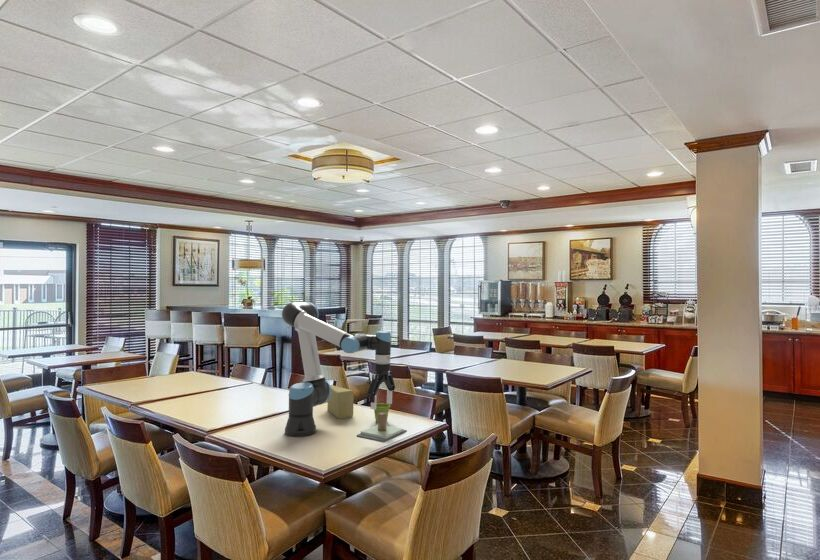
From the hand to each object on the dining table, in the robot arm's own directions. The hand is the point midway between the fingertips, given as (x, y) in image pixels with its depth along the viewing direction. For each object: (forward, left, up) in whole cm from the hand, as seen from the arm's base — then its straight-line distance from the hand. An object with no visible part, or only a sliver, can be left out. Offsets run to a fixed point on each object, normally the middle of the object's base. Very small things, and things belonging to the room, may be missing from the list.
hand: (381, 406), depth 232 cm
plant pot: (+18, +13, -14) cm, 26 cm away
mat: (0, 0, -13) cm, 13 cm away
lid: (0, 0, -13) cm, 13 cm away
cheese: (+18, +43, -14) cm, 48 cm away
